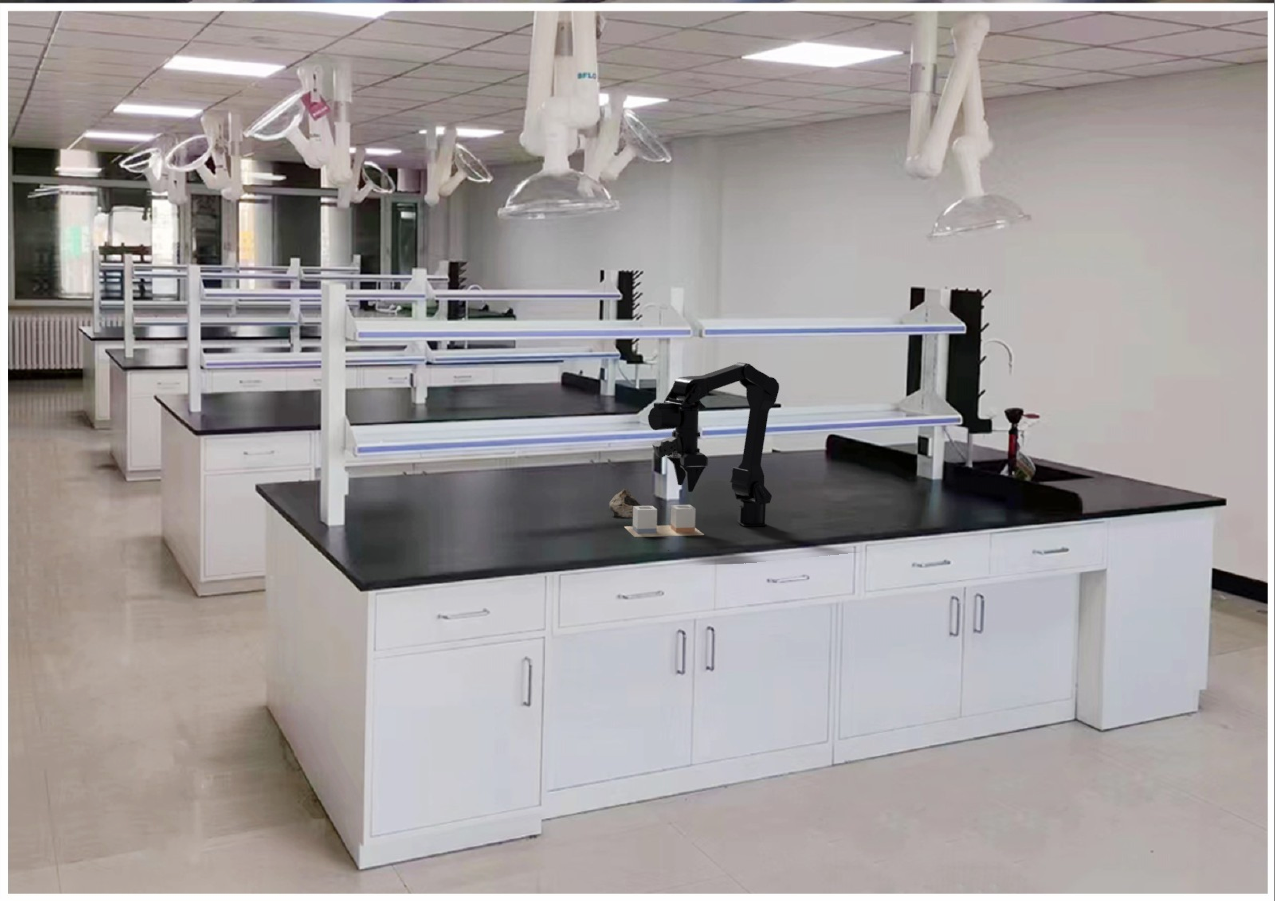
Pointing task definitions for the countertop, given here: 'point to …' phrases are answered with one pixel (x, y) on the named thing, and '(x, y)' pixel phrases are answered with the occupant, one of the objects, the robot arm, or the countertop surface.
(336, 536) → the countertop surface
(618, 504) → the rock
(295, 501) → the countertop surface
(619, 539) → the countertop surface
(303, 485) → the countertop surface
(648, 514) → the seated sleeve
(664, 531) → the pin board
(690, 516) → the banded sleeve
